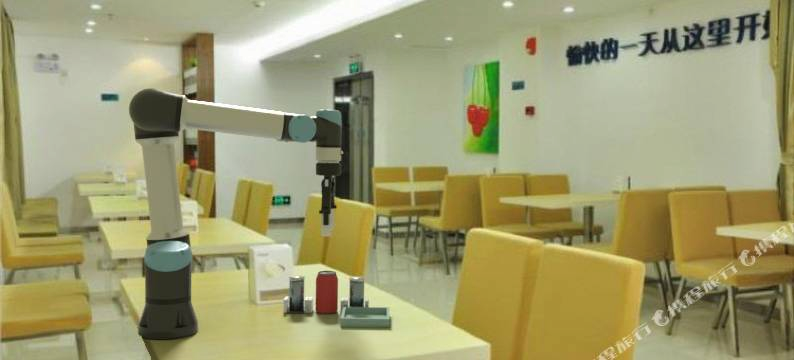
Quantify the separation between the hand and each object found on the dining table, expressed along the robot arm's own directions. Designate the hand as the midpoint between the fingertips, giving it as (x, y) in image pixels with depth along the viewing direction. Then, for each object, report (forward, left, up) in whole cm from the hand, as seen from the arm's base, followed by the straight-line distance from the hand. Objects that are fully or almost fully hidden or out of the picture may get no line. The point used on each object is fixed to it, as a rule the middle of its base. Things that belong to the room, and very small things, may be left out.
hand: (327, 233), depth 210 cm
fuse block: (0, 0, -24) cm, 24 cm away
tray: (-10, -12, -24) cm, 28 cm away
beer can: (0, 0, -24) cm, 24 cm away
